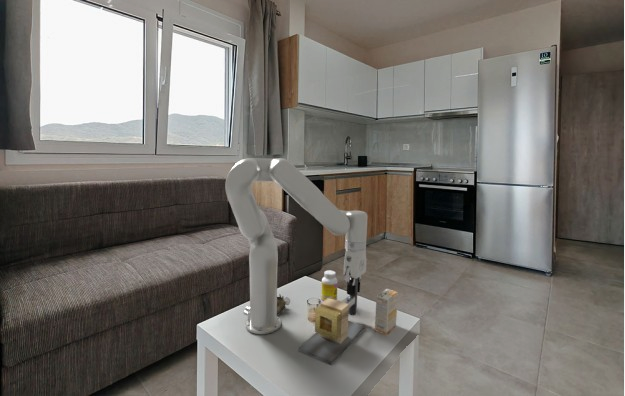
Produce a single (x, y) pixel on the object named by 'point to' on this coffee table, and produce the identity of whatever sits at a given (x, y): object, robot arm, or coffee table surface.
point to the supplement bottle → (329, 286)
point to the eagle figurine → (282, 303)
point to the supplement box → (386, 310)
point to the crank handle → (351, 301)
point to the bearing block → (330, 347)
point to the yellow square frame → (325, 329)
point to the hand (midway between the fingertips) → (353, 292)
